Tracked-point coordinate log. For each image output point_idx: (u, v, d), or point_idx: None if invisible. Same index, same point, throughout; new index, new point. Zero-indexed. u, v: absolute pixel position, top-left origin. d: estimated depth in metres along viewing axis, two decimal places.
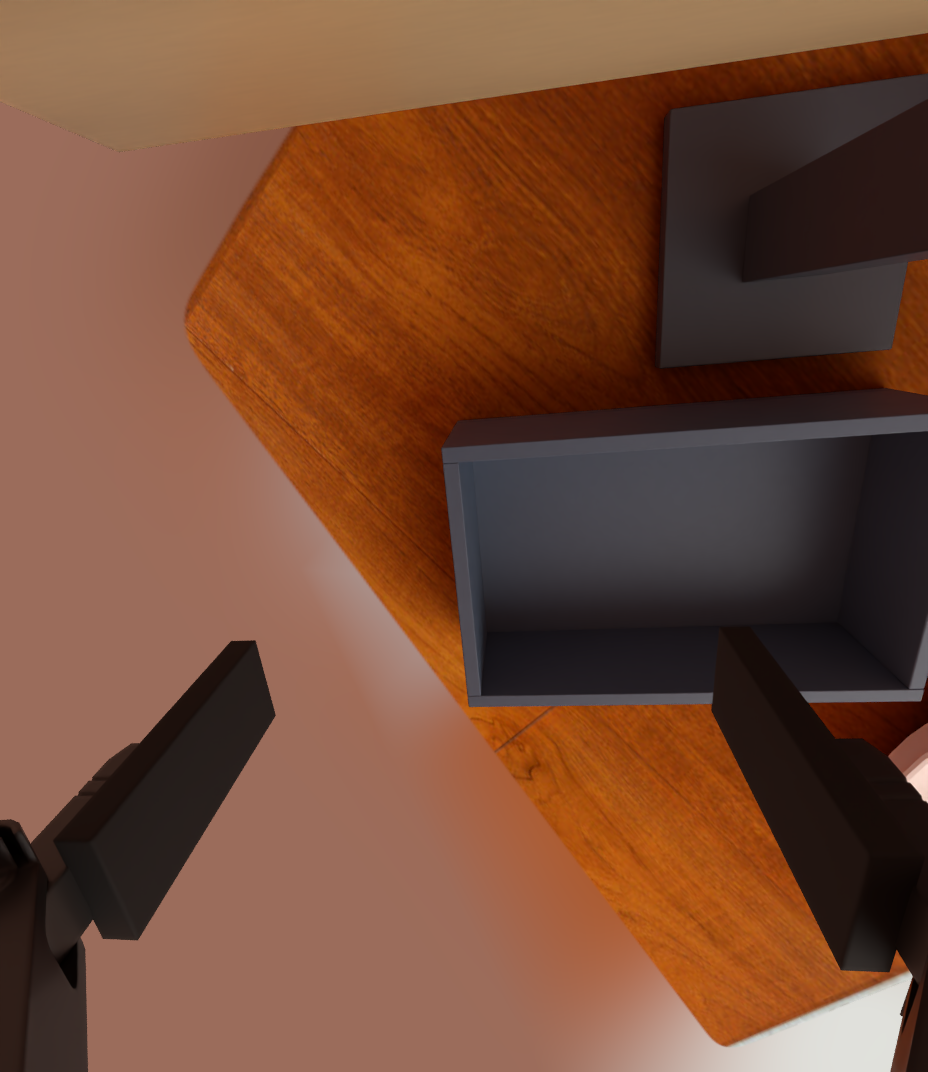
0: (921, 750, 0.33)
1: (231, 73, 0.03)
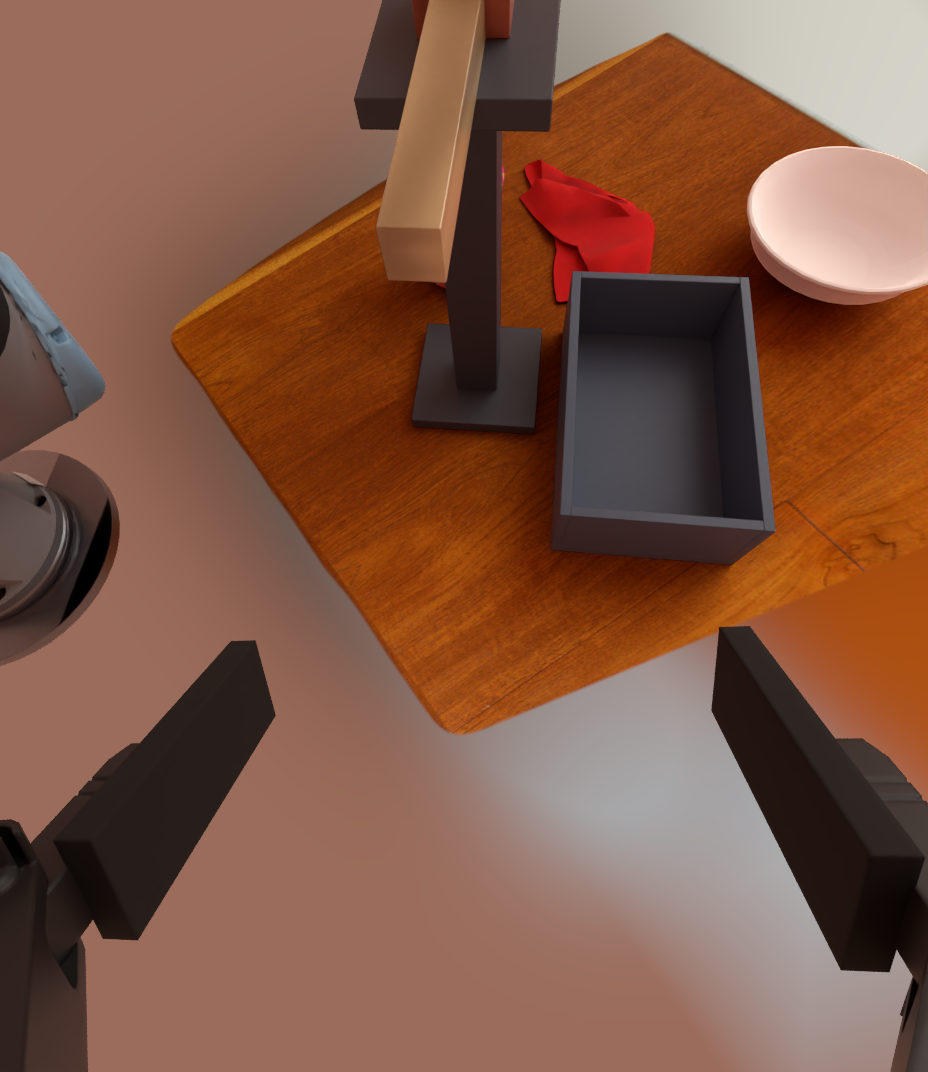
0: (798, 279, 0.51)
1: (449, 233, 0.22)
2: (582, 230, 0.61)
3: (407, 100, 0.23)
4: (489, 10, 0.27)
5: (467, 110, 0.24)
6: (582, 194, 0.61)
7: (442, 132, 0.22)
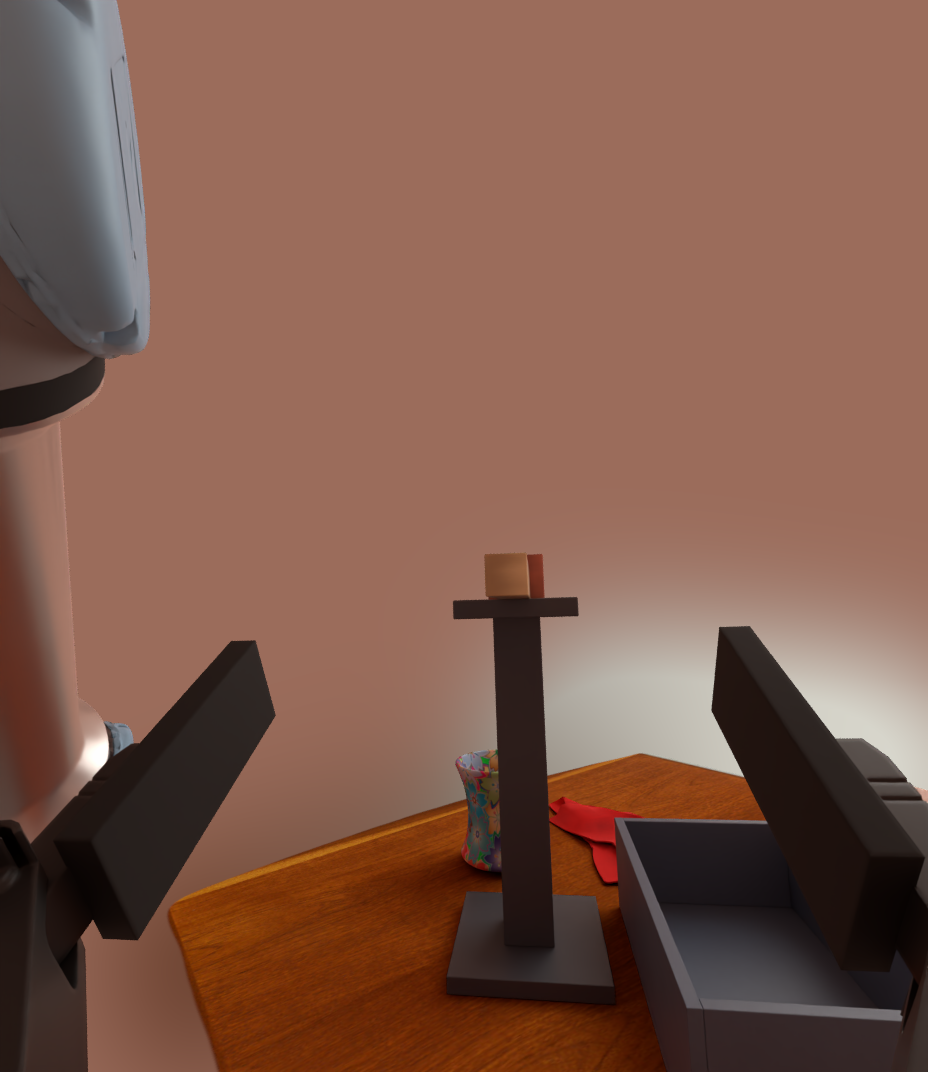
0: None
1: None
2: (613, 834, 0.63)
3: None
4: (532, 585, 0.48)
5: None
6: (605, 810, 0.68)
7: None
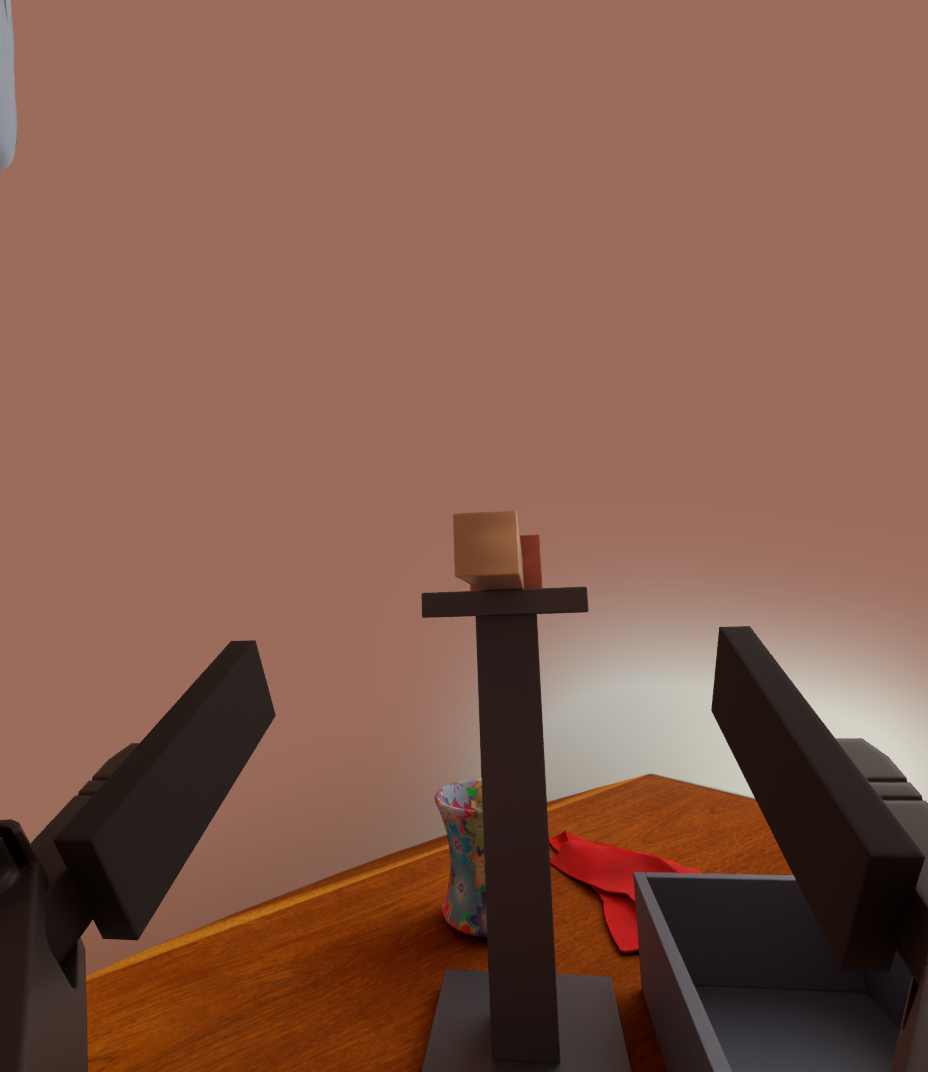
0: None
1: None
2: (628, 882, 0.52)
3: None
4: (526, 575, 0.37)
5: (521, 559, 0.29)
6: (617, 850, 0.57)
7: None
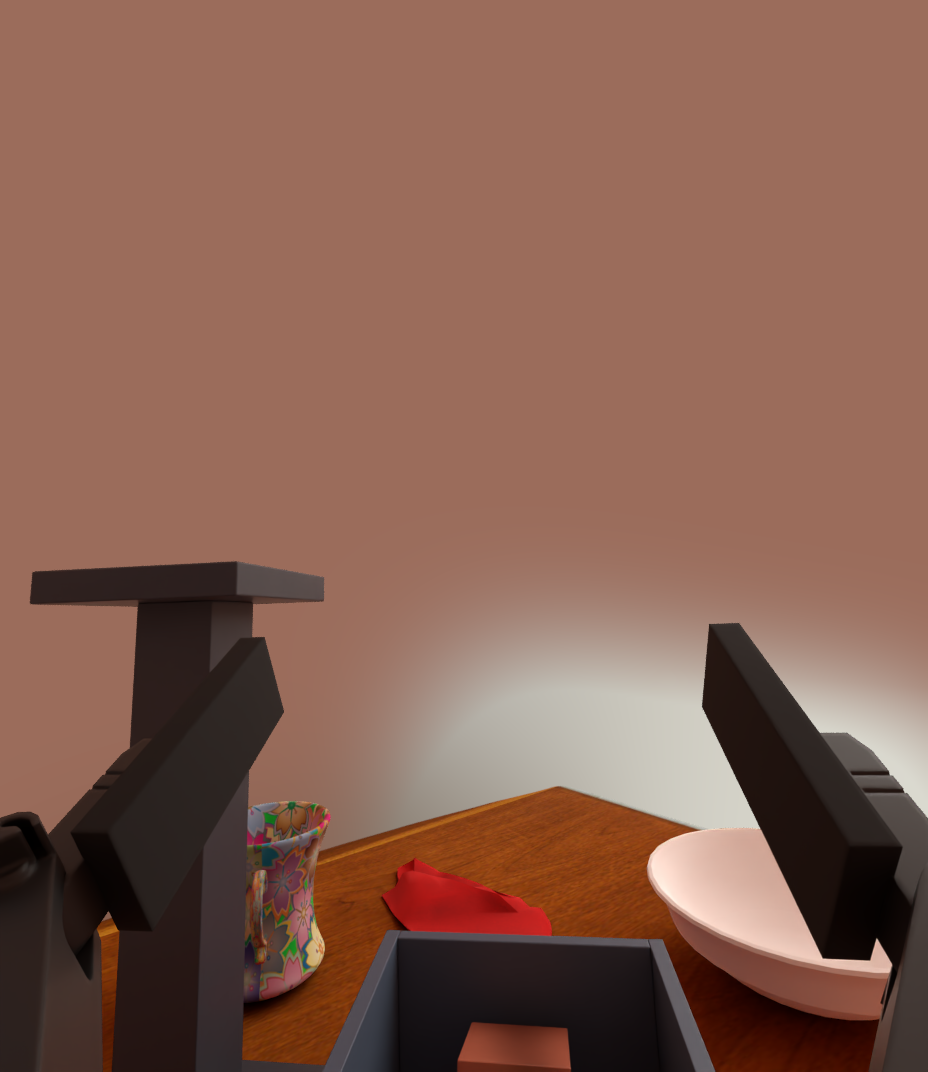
0: (758, 962, 0.31)
1: None
2: (451, 926, 0.44)
3: None
4: None
5: None
6: (454, 885, 0.48)
7: None
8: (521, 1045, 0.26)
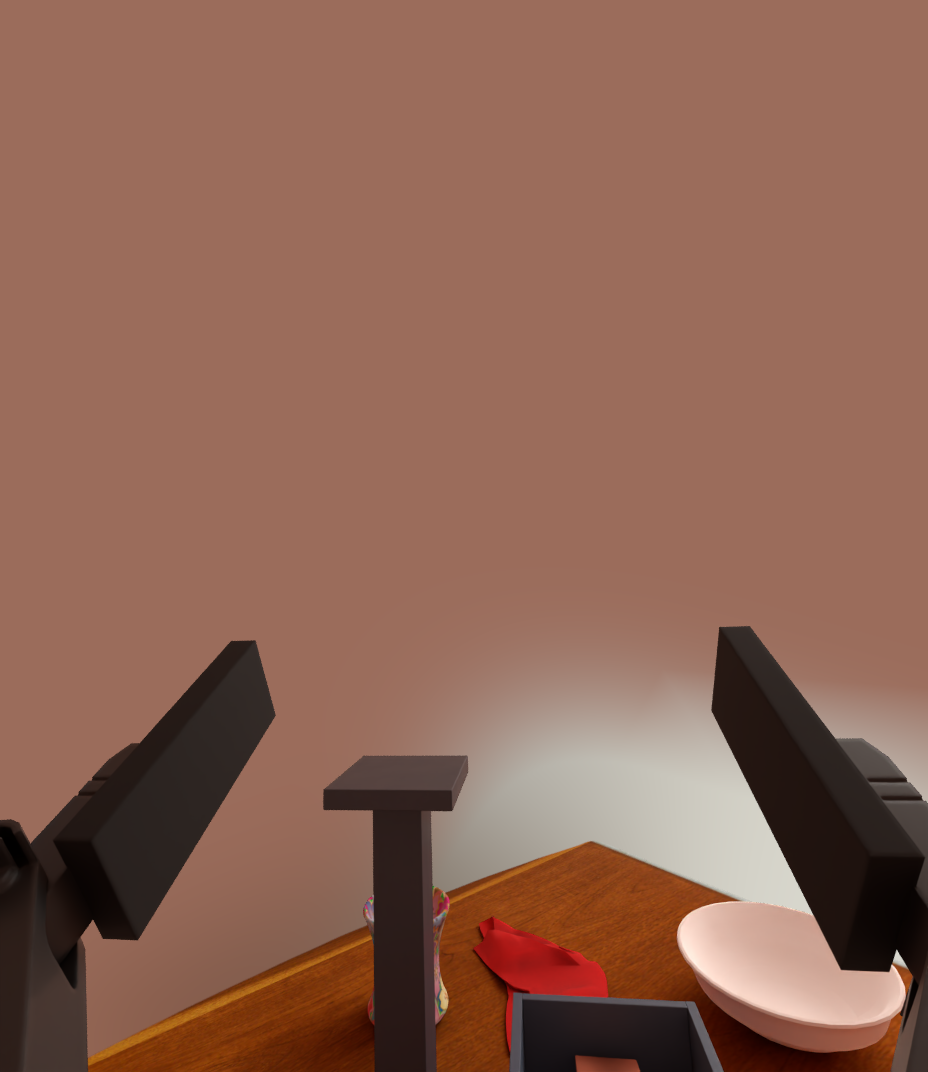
0: (756, 1015, 0.48)
1: None
2: (533, 977, 0.60)
3: None
4: None
5: None
6: (530, 942, 0.65)
7: None
8: (611, 1071, 0.42)
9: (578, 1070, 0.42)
